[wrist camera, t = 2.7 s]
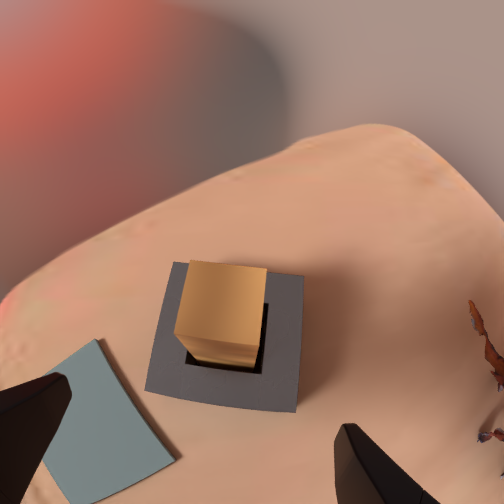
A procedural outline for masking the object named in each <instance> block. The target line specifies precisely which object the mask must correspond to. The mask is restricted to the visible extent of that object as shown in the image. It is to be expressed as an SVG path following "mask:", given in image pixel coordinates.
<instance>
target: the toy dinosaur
mask: <svg viewBox="0 0 504 504" xmlns="http://www.w3.org/2000/svg"><path fill="white" fill-rule="evenodd" d="M469 305H470V313H471V316H472V318H473V319H471V320H472V324H473V328H474V329H475V330H476V331H478V333H479V335H480V336H481V335H484V336H485V337H486V346H485V359H486V360H487V361H488V362H490V364H491V365H492V366H493V367H494V368H495V372H493V371H491V373H492V374H493V375H494V377H495V378H496V379H497V381H498V382H499V383H498V392H500V391H502V390H503V388H504V358H502V357H501V356H500V355H499V354H498V353H497V352H496V350H495V349H494V347H493V345H492V344H491V342H490V341H489V339H488V334H487V332H486V330H485V329H484V324H483V319H482V318H481V315H480V314H479V312H478V310H477V309H476V307H475V305H474V303H473V302H472V301H471V300H469ZM492 436H495V437H497V438H498V439H499V440H500V441H503V442H504V431H503V430H502V429H501V428H497V429H495V431H494V433H492V432H490V433H487V432H485V433H484V434H483V433H479V435H478V437H479V438H478V439H479V440H480V442H481V443H483V442H485V441H487V440H490V438H491V437H492ZM479 440H478V441H479ZM478 441H477V442H478ZM503 477H504V475H503V476H501V479H502V478H503Z"/></svg>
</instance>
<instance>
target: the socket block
mask: <svg viewBox="0 0 504 504" xmlns="http://www.w3.org/2000/svg"><path fill="white" fill-rule="evenodd" d="M188 267H189V263H181V262H173V266H172V269H171V273H170V277H169V281H168V284H167V288H166V292H165V296H164V300H163V304H162V309H161V313H160V317H159V321H158V326H157V330H156V335H155V339H154V344H153V349H152V354H151V358H150V363H149V369H148V374H147V379H146V385H145V390H144V391H148V392H152V393H157V394H161V395H165V396H170V397H174V398H179V399H184V400H189V401H195V402H200V403H206V404H213V405H219V406H226V407H234V408H242V409H251V410H262V411H274V412H291V413H296V406H297V394H298V382H299V369H300V354H301V338H302V318H303V294H304V276H298V275H288V274H278V273H269V272H267V273H266V283H265V293H264V303H263V313H262V320H265V327H264V337H263V347H262V356H261V366H260V374H252V373H244V372H235V371H228V370H220V369H213V368H207V367H201V366H195V365H196V359H195V358H194V356H193V355H192V354H191V353H190V352H189V351H188V350H187V349H186V347H185V346H184V345H183V344H182V343H181V342H180V340H179V339H178V338H177V337H176V336H175V334H174V329H175V324H176V320H177V315H178V310H179V306H180V301H181V297H182V292H183V288H184V284H185V279H186V275H187V271H188Z"/></svg>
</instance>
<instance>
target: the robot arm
mask: <svg viewBox="0 0 504 504" xmlns="http://www.w3.org/2000/svg"><path fill="white" fill-rule="evenodd" d="M71 399H72V391H71V388H70V385H69V382H68V379H67V377H66V375H64V374H61V373H59V372H53V373H51V374H48V375H45V376H43V377H40V378H37V379H34V380H31V381H29V382H26V383H23V384H20V385H17V386H14V387H11V388H8V389H5V390H2V391H0V504H20V503H21V501H22V499H23V496H24V494H25V492H26V490H27V488H28V486H29V484H30V482H31V480H32V478H33V476H34V474H35V472H36V470H37V468H38V466H39V464H40V462H41V460H42V458H43V456H44V454H45V453H46V451H47V449H48V447H49V445H50V443H51V442H52V440H53V438H54V436H55V434H56V432H57V430H58V428H59V426H60V424H61V422H62V419H63V417H64V415H65V412H66V410H67V408H68V405H69V403H70V401H71ZM334 465H335V488H336V495H337V502H338V504H440V503H439V502H438V501H437V500H435V499H434V498H433V497H432V496H431V495H430V494H429V493H427V492H426V491H425V490H423V488H422V487H421V486H420V485H419V484H418V483H416V482H415V481H414V480H413V479H412V478H411V477H410V476H409V475H408V474H407V473H406V472H405V471H404V470H403V469H402V468H400V467H399V466H398V465H397V464H396V463H395V462H394V461H393V460H392V459H391V458H390V457H389V456H388V455H387V454H386V453H385V452H384V451H383V450H382V449H381V448H380V447H379V446H378V445H377V444H376V443H375V442H374V441H373V440H372V439H371V438H370V437H369V436H368V435H367V434H366V433H365V432H364V431H363V430H362V429H361V428H360V427H359V426H358V425H357V424H355V423H345V424H342V425H341V427H340V429H339V432H338V434H337V436H336V438H335V441H334Z"/></svg>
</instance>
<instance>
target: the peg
mask: <svg viewBox="0 0 504 504" xmlns="http://www.w3.org/2000/svg"><path fill="white" fill-rule="evenodd" d="M266 273H267V269H266V268H256V267H247V266H238V265H229V264H221V263H212V262H203V261H195V260H190V263H189V267H188V271H187V275H186V279H185V284H184V288H183V292H182V297H181V301H180V306H179V310H178V315H177V320H176V324H175V329H174V334H175V336H176V337H177V338H178V339H179V340H180V342H181V343H182V344H183V345H184V346H185V347H186V349H187V350H188V351H189V352H190V353H191V354H192V355H193V356H194V358H195V359H196V360H197V361H198V362H199V363H200V364H201V365H202V366H204V367H211V368H218V369H225V370H232V371H240V372H249V373H253V369H254V365H255V361H256V356H257V352H258V348H259V342H260V332H261V323H262V313H263V303H264V293H265V283H266Z"/></svg>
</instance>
